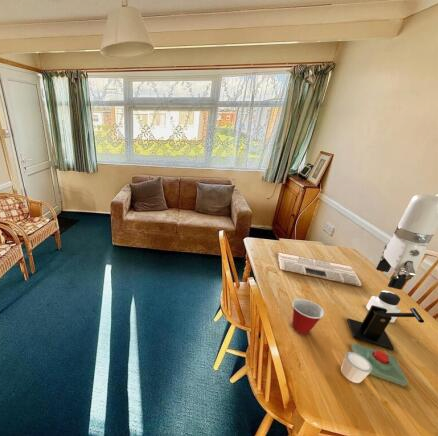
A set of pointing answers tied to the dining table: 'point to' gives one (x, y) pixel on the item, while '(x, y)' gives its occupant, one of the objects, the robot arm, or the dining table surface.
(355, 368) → the white cup
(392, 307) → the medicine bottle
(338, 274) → the newspaper
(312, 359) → the dining table surface
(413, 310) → the lever
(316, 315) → the plastic cup
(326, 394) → the dining table surface
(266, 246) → the dining table surface
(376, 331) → the bracket
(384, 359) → the button
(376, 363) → the button box
